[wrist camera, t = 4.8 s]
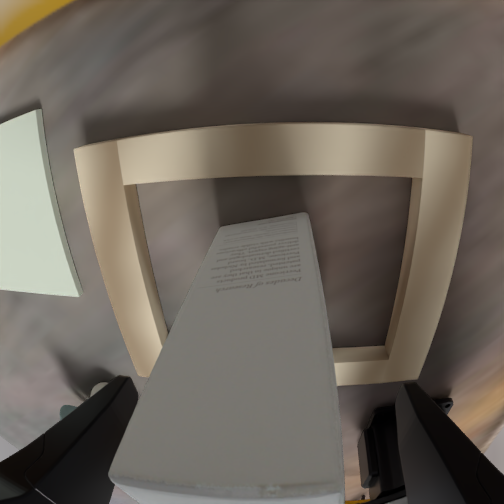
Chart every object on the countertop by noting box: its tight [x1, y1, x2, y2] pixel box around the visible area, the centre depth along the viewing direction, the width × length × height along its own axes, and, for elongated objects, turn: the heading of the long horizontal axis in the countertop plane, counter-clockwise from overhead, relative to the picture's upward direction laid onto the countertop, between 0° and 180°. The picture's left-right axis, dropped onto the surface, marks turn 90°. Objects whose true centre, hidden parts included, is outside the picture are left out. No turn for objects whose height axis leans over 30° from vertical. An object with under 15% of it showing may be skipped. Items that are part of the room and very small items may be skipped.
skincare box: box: [108, 212, 345, 504], centre depth 10 cm, size 6×4×12 cm
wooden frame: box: [74, 122, 473, 386], centre depth 15 cm, size 17×14×1 cm
